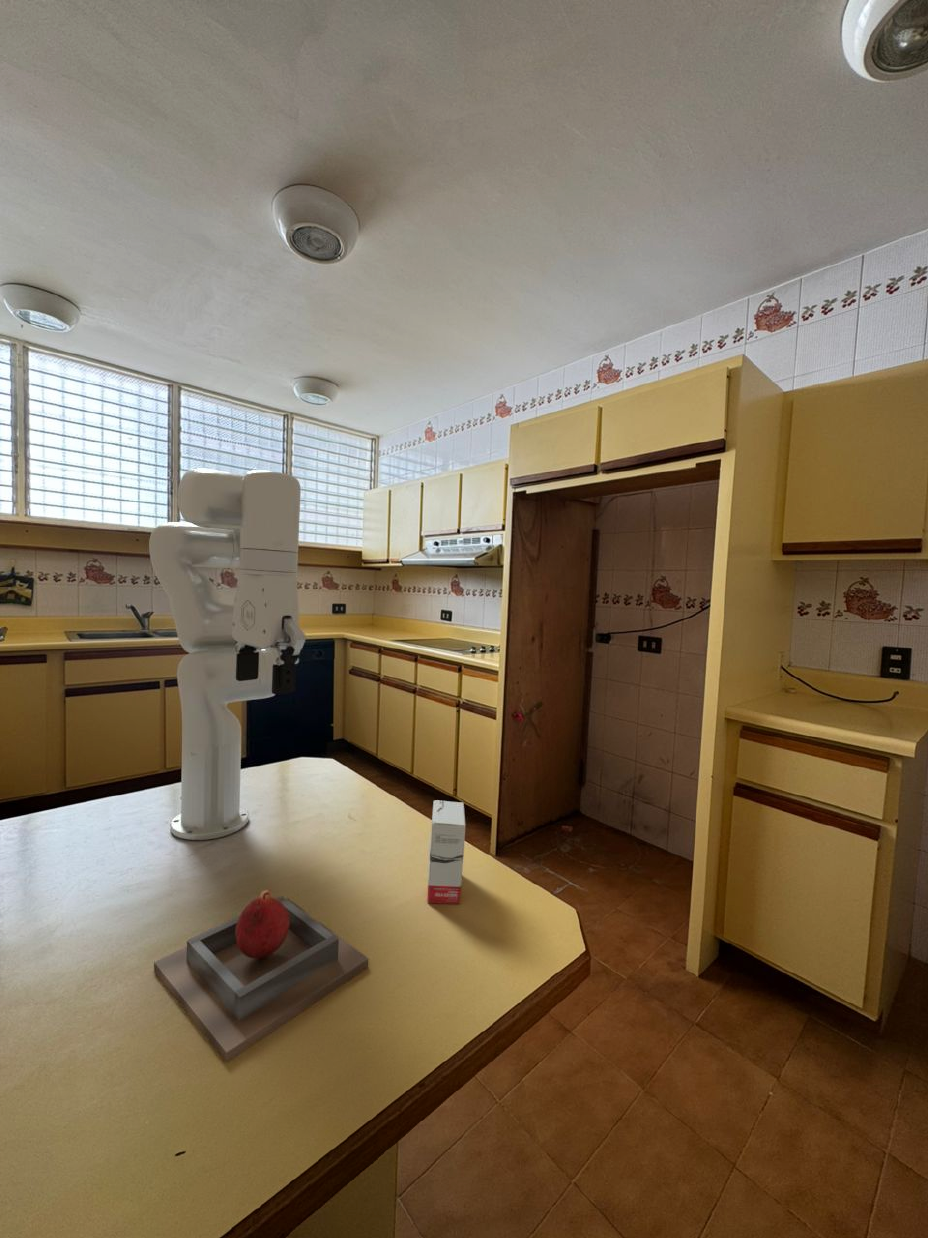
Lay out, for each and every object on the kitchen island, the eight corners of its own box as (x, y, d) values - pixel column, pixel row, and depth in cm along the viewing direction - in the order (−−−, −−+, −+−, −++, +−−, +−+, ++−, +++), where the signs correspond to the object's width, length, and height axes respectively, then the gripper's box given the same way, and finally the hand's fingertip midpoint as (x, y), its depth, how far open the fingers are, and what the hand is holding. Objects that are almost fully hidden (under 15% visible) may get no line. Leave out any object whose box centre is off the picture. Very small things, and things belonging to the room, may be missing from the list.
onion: (270, 981, 58) (272, 911, 58) (223, 971, 59) (225, 902, 59) (297, 946, 64) (299, 882, 63) (254, 937, 65) (256, 874, 64)
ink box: (461, 905, 75) (466, 824, 75) (426, 904, 75) (430, 823, 74) (460, 872, 84) (464, 799, 83) (428, 871, 84) (432, 798, 83)
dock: (153, 970, 60) (154, 941, 60) (287, 905, 73) (288, 880, 73) (226, 1062, 49) (227, 1027, 49) (368, 967, 62) (369, 938, 62)
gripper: (212, 560, 76) (209, 678, 77) (277, 565, 65) (272, 703, 66) (261, 563, 81) (258, 672, 83) (329, 568, 70) (323, 695, 72)
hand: (264, 686), depth 75 cm, fingers open, 9 cm apart
